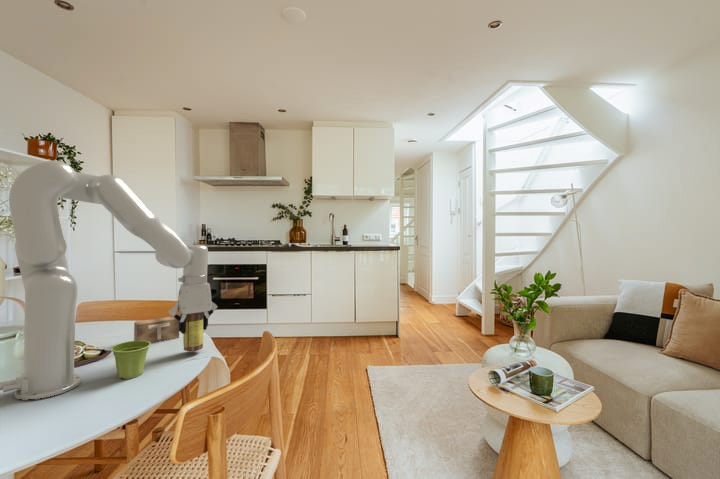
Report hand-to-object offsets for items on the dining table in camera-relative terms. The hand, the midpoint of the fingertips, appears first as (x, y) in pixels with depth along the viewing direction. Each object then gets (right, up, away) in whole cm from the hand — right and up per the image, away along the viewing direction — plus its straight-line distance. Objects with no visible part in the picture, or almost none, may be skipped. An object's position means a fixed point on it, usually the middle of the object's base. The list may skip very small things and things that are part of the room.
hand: (193, 330), depth 110 cm
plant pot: (-9, -8, -18) cm, 21 cm away
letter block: (-20, -7, +12) cm, 25 cm away
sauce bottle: (0, -7, 0) cm, 7 cm away
